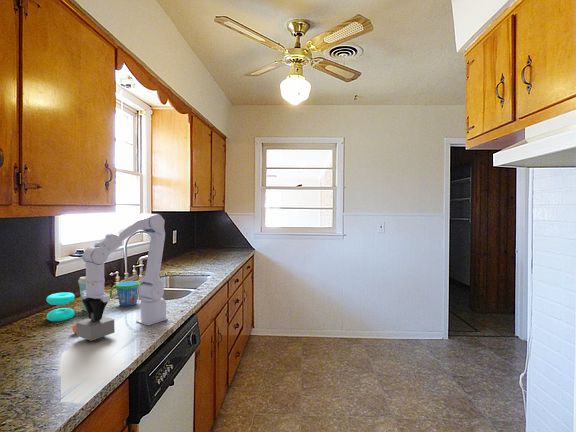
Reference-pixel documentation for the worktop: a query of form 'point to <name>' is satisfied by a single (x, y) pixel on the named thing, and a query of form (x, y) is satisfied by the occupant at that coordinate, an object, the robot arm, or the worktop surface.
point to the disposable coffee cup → (83, 287)
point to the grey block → (95, 328)
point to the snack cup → (126, 292)
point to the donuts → (61, 312)
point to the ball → (74, 328)
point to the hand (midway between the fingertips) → (95, 319)
